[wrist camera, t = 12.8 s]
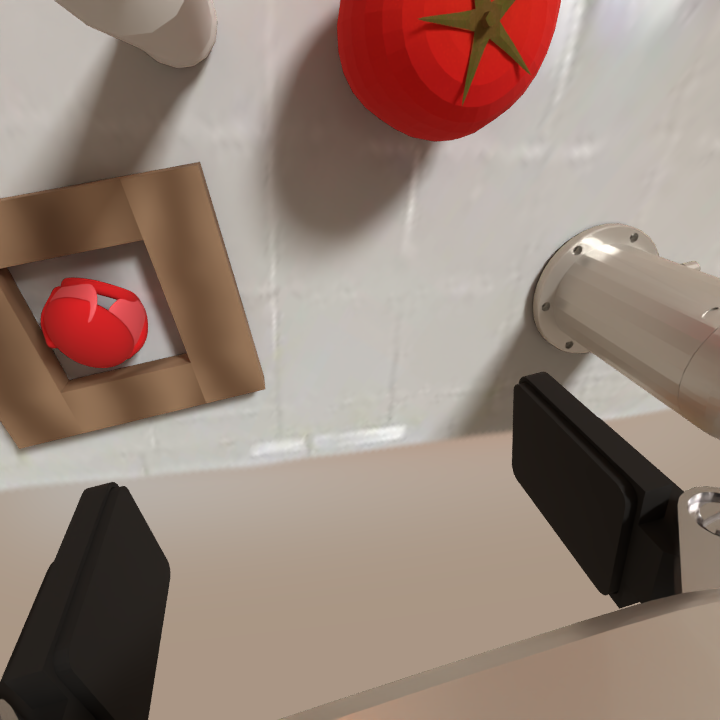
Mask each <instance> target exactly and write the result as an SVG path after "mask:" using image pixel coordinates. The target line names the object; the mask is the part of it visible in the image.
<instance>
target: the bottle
mask: <svg viewBox="0 0 720 720" xmlns="http://www.w3.org/2000/svg"><path fill="white" fill-rule="evenodd" d="M55 1H56V2H57V3H58V4H60V5H61V6H62V7H64V8H65V9H66V10H68V11H69V12H70V13H72V14H73V15H74V16H76V17H77V18H78V19H80V20H81V21H82V22H84V23H85V24H86V25H88V26H90V27H92V28H94V29H97V30H99V31H101V32H104V33H106V34H108V35H110V36H113V37H115V38H117V39H120V40H122V41H124V42H126V43H129V44H131V45H133V46H136V47H138V48H140V49H142V50H143V51H144V52H146V53H147V54H148V55H150V56H151V57H152V58H154V59H155V60H156V61H157V62H159V63H162V64H166V65H169V66H172V67H175V68H182V67H190V66H195V65H196V64H197V63H199V62H200V61H202V60H203V59H205V58H206V57H207V56H208V54H209V52H210V51H211V49H212V47H213V45H214V43H215V41H216V32H217V23H218V22H217V17H216V13H215V8H214V4H213V0H55Z"/></svg>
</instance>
